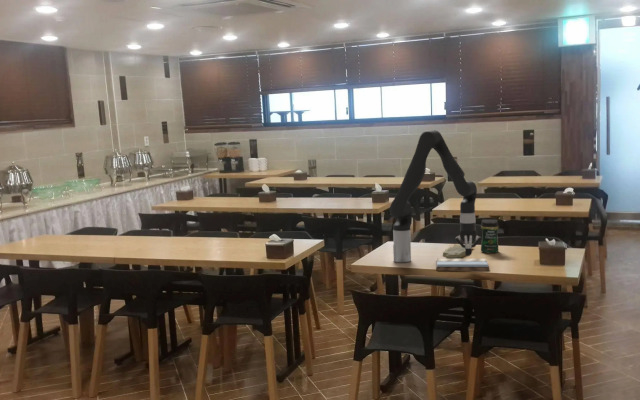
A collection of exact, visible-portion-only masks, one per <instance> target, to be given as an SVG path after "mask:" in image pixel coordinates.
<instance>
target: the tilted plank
mask: <svg viewBox="0 0 640 400" xmlns="http://www.w3.org/2000/svg"><path fill="white" fill-rule="evenodd" d="M436 261H437V260H436ZM488 266H489V263H488V261H487V262H475V261H437V267H488Z"/></svg>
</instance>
